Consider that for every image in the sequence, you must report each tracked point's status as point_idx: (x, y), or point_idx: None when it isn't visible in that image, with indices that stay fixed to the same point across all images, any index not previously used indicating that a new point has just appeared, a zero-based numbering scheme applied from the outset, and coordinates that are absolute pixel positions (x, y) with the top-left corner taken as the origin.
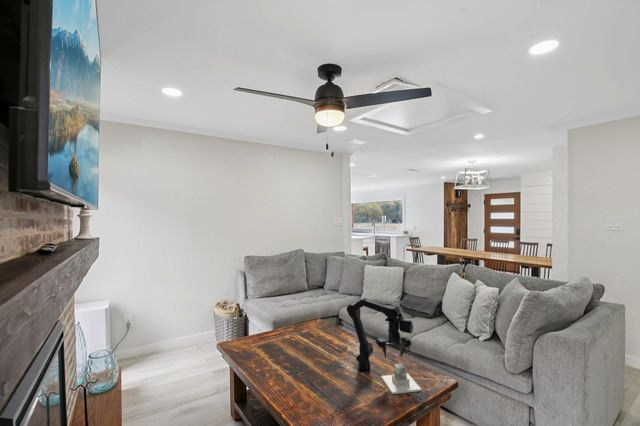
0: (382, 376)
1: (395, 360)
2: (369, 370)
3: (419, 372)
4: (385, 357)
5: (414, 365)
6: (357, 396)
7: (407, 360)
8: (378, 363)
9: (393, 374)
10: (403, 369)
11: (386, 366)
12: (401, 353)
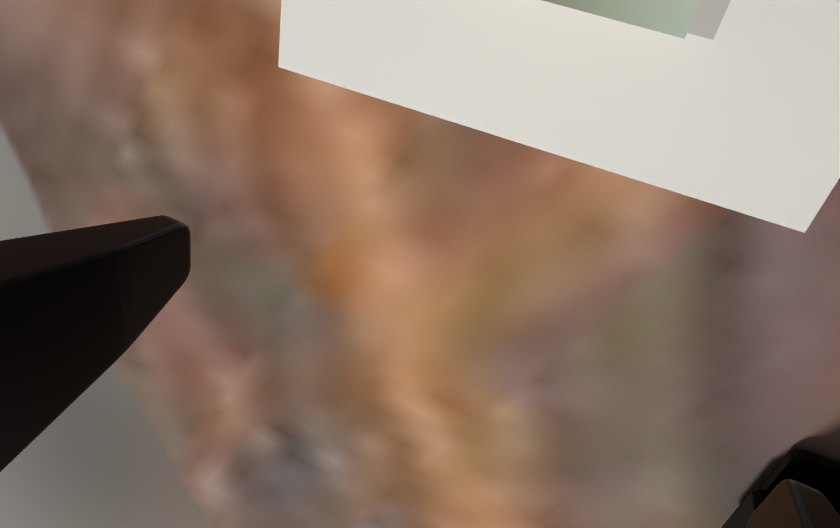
0: (798, 207)
1: (271, 418)
2: (795, 467)
3: (104, 51)
4: (821, 497)
5: None
6: None
7: (145, 345)
8: (504, 494)
9: None
10: None
11: (452, 398)
12: (72, 273)
